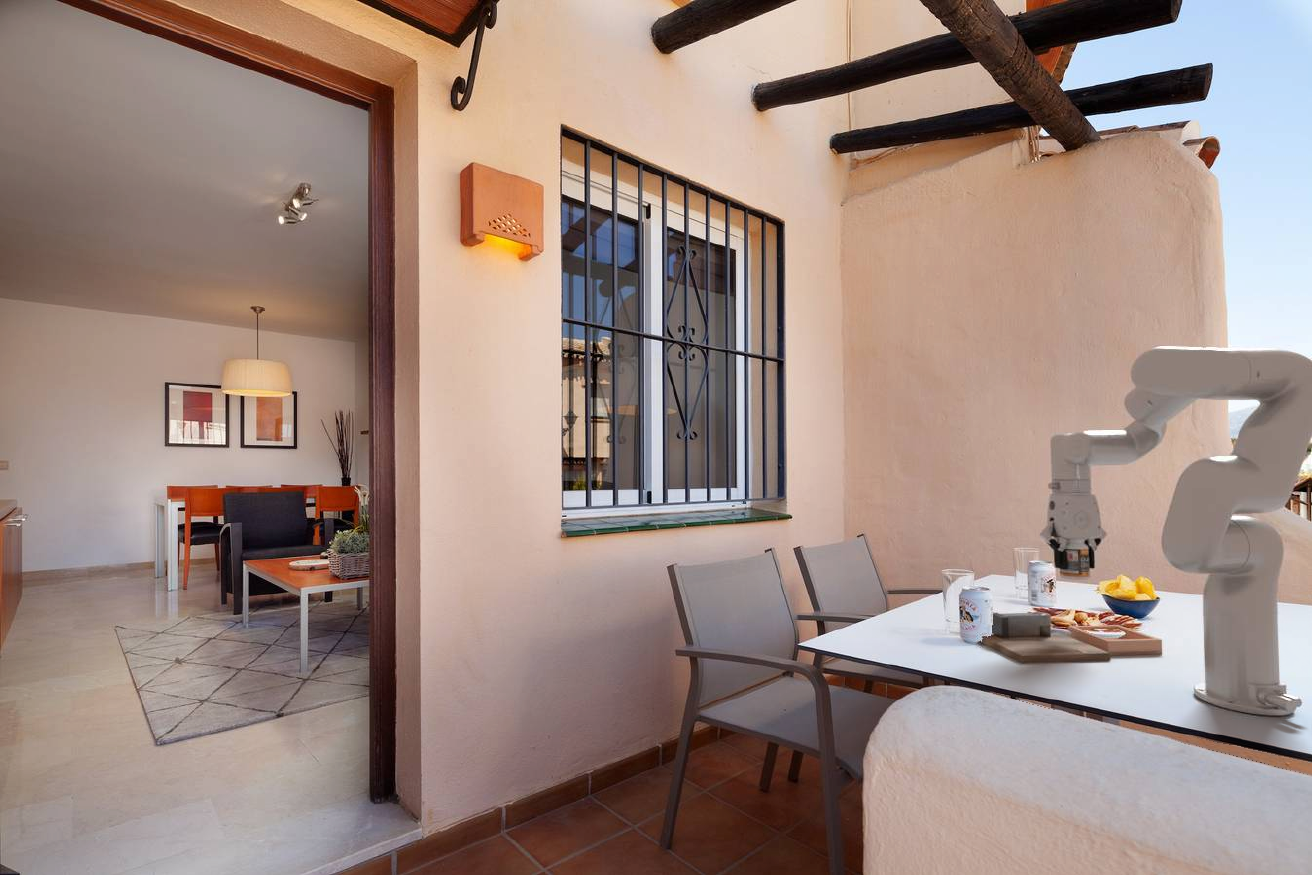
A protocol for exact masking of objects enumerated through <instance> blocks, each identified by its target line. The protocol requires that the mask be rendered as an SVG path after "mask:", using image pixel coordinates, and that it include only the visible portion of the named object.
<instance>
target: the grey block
mask: <svg viewBox="0 0 1312 875" xmlns="http://www.w3.org/2000/svg"><path fill="white" fill-rule="evenodd" d="M992 613H993V625H992V633H991V634H994V635H997V636H999V637H1001V638H1009V636H1051V633H1052V619H1051V618H1052V615H1051V614H1050V613H1047V612H1044V611H1043V612H1042V611H1041V612H1039V611H1036V612H1035V611H1033V612H1018V613H1017V612H1014V613H1008V612H1007V613H999V612H992Z"/></svg>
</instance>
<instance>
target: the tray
mask: <svg viewBox="0 0 1312 875" xmlns="http://www.w3.org/2000/svg"><path fill="white" fill-rule="evenodd" d="M1091 629H1119V630H1122V631H1124V632H1125V633H1126V634H1125V635H1124V636H1122V637H1119V638H1103V637H1100V636H1097V635H1095V634H1092V633H1089V632H1087V631H1084V630H1091ZM1067 630H1068V631H1070V632H1072V633H1071V634H1068V633H1067V636H1068V637H1071V638H1073V639H1076V640H1078V641H1081V642H1084V643H1086V644H1089V645H1091V646H1094V647H1096V648H1099V649H1101V650H1104V651H1106V652H1109V653H1110V657H1111V656H1112V657H1113V656H1114V657H1115V656H1140V655H1141V656H1143V655H1147V656H1148V655H1163V640H1162V639H1161V638H1158V637H1155V636H1151V635H1148V634H1146V633H1143V632H1140V631H1138V630H1134V629H1131V628H1128V627H1124V626H1122V625H1119V624H1106V625H1105V624H1103V625H1101V624H1100V625H1070V626H1067ZM1068 631H1067V632H1068Z"/></svg>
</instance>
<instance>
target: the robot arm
mask: <svg viewBox="0 0 1312 875" xmlns="http://www.w3.org/2000/svg"><path fill="white" fill-rule="evenodd" d="M1130 379H1131V382H1132V383H1133V385H1134V388H1133V389H1131V390H1130V391H1129V392H1128V393H1127V394H1126V395H1125V397H1124V402H1123V403H1124V408H1125V411H1127V413H1128V414H1129V416H1130V417H1131V418H1132V419H1134V421H1132V422H1131V423H1130V424H1128V425H1127V426H1126V427H1124V428H1123V429H1121V430H1082V431H1077V432H1073V433H1059V434H1054V435H1052V437H1050V464H1051V466H1050V468H1051V470H1050V471H1051V482H1049V483H1048V484H1047V486H1048V489H1050V490H1051V491H1052V492H1051V493H1050V494H1049V497H1048V498H1049V499H1048V503H1047V518H1046V520H1047V521H1046V522H1047V523H1046V526H1045V527H1044V528H1043V530H1042V531H1041V532H1040V534H1039V536H1040V538H1041V539H1043V540H1044V541H1045V542H1046V544H1047V545H1048V546H1049V547H1050V549H1051V551H1053V558H1054V559H1053V561H1054V562H1053V563H1054V567H1055V568H1056V569H1059V570H1060V569H1067V568H1068V566H1067V551H1064V549H1065V545H1066V542H1067V539H1085V541H1084V544H1085V545H1087V546H1088V548H1089V567H1090V569H1093V570H1094V569H1095V567H1096V566H1095V563H1096V561H1095V551H1097V550H1098V547H1099V545H1100V544H1101V542H1102V540H1104V539H1105V538H1106V536H1107V534H1108V533H1107V532H1106V530H1104V528H1102V520H1101V512H1100V507H1099V503H1098V502H1099V501H1098V499H1097V496H1096V494H1095V493H1092V480H1091V479H1092V474H1091V472H1092V470H1091V466H1123V465H1125V466H1126V465H1129V464H1132V463H1136V462H1137V461H1138V460H1140V459H1142V458H1143V457H1145V456H1146V455H1148V454H1149V453H1150V452H1152V451H1153V450H1155V449H1156V448H1157V447H1158V446H1159V445H1160V444H1161V443H1162V441H1163V439H1164V437H1165V435H1166V431H1167V427H1168V426H1167V425H1168V424H1167V423H1169V421H1170V420H1172V419H1173V418H1175V417H1176V416H1177V415H1179V414H1180V413H1181V412H1183V410H1185V409H1187V407H1190V405H1192V404H1193V403H1195V402H1196V401H1197V400H1198V399H1199V400H1201V399H1202V400H1212V401H1215V400H1216V401H1217V400H1219V401H1226V400H1227V401H1229V400H1230V401H1233V400H1234V401H1250V400H1251V401H1255V400H1256V401H1258V402H1259V405H1258V407H1257V408H1256V409H1254V411H1253V412H1252V413H1251V414H1250V415H1248V417H1247V418H1246V419H1245V421H1244V422H1243V424H1242V425H1241V427H1240V429H1239V432H1238V435H1237V439H1236V442H1235V444H1234V446H1233V447H1234V448H1233V449H1232V451H1231V452H1230V454H1229V455H1228V456H1211V457H1205V458H1200V459H1197V460H1195V461H1194V462H1191V464H1189V465H1188V466H1187V467H1186V468H1185V469H1184V470H1183V471H1182V473H1181V474H1180V476H1179V478H1178V479H1177V483H1176V485H1175V487H1174V492H1173V494H1172V498H1171V501H1170V505H1169V507H1168V508H1169V509H1168V512H1167V515H1166V519H1165V521H1164V524H1163V528H1162V535H1161V548H1162V549H1161V550H1162V554H1163V556H1164V557H1165V559H1166V561H1167V562H1168V563H1169V564H1170V565H1171V566H1173V567H1174V568H1175V569H1177V570H1179V571H1182V572H1185V573H1189V574H1202V575H1203V574H1208V576H1207V578H1206V581H1205V584H1204V587H1203V591H1202V614H1203V615H1202V616H1203V618H1202V619H1203V647H1204V648H1203V650H1204V651H1203V652H1204V680H1205V681H1204V682H1199V683H1197V684H1195V685H1194V686H1193V693H1194V695H1195V696H1196V697H1197V698H1199V699H1201V700H1202V701H1204V702H1207V703H1209V704H1212V705H1214V706H1217V707H1220V708H1224V709H1228V710H1231V711H1236V712H1240V713H1244V714H1245V713H1247V714H1251V715H1252V714H1253V715H1261V716H1274V717H1275V716H1278V717H1279V716H1280V717H1281V716H1287V715H1290V714H1293V712H1295V711H1296V710H1297V708H1300V707H1301V706H1302V704H1303V701H1302V699H1301V698H1298V697H1297V696H1296V697H1295V696H1293V695H1289V694H1287V684H1285V683H1282V682H1281V681H1280V655H1279V651H1280V650H1279V649H1280V648H1279V624H1278V623H1279V621H1278V620H1279V618H1278V615H1279V613H1278V612H1279V611H1278V610H1279V609H1278V590H1279V589H1278V587H1279V579H1280V578H1279V577H1280V573H1281V568H1282V565H1283V560H1284V554H1285V553H1284V542H1283V539H1282V537H1281V535H1280V533H1279V532H1278V531H1277V529H1276V528H1274V527H1273V526H1272V525H1271V524H1270V523H1268V522H1266V521H1265V520H1262V519H1259V518H1256V517H1252V516H1246V514H1248V515H1249V514H1251V515H1253V514H1266V513H1267V514H1268V513H1273V512H1276V511H1279V510H1280V509H1283V508H1284V507H1285V506H1286V505H1287V503H1289V500H1290V499H1291V497H1292V494H1293V491H1294V488H1295V485H1296V483H1297V480H1298V477H1299V474H1300V472H1301V469H1302V465H1303V464H1304V460H1305V457H1306V454H1307V452H1308V448H1309V445H1310V442H1311V439H1312V359H1310V358H1308V357H1306V356H1305V355H1303V354H1300V353H1296V352H1293V351H1289V350H1286V349H1285V350H1283V349H1277V348H1230V347H1219V348H1218V347H1206V348H1205V347H1204V348H1203V347H1193V346H1192V347H1191V346H1157V347H1152V348H1149V349H1147V350H1146V351H1144V352H1143V353H1141V354H1140V355H1139V356H1138V357H1137V358H1136V359H1135V361H1134V362H1133V364H1132V366H1131V369H1130Z"/></svg>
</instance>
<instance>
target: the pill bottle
mask: <svg viewBox="0 0 1312 875" xmlns="http://www.w3.org/2000/svg"><path fill="white" fill-rule="evenodd" d="M1084 541H1085V539H1067V542H1066V545H1065V549H1064V551H1067V566H1068V568H1067V569H1060V568H1059V576H1060V577H1061V579H1064V580H1072V581H1088V580H1090V575H1091V574H1090V573H1091V572H1090V569H1091V568H1090V567H1089V548H1088V546H1087V545H1085V544H1084Z"/></svg>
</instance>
